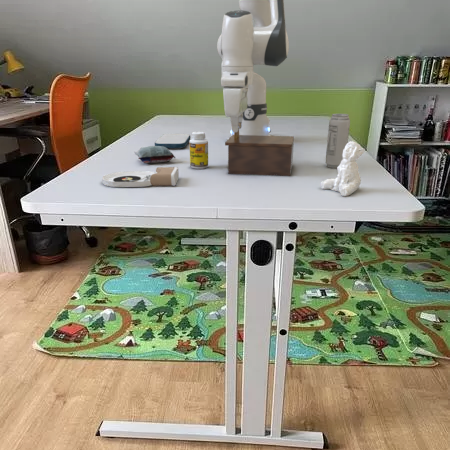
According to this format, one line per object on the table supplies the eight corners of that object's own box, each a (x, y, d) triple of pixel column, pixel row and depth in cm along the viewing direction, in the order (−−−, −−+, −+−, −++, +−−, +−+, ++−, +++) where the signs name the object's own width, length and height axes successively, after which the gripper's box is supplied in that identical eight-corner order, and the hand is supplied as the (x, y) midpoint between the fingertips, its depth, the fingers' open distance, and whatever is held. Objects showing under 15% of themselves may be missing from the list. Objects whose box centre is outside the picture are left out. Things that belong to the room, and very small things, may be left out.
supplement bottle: (187, 168, 138) (185, 133, 133) (194, 164, 143) (193, 130, 138) (204, 170, 136) (203, 134, 132) (211, 166, 141) (210, 131, 136)
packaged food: (135, 160, 149) (133, 144, 147) (170, 158, 152) (170, 142, 150) (139, 166, 142) (137, 149, 139) (176, 163, 145) (175, 147, 143)
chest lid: (225, 145, 128) (225, 126, 126) (232, 137, 141) (232, 120, 138) (291, 147, 126) (293, 128, 123) (293, 139, 138) (294, 121, 135)
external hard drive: (163, 138, 187) (163, 133, 186) (191, 138, 186) (191, 133, 185) (153, 149, 165) (152, 143, 165) (184, 149, 165) (184, 143, 164)
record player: (173, 175, 117) (96, 176, 117) (174, 187, 118) (97, 188, 119) (178, 165, 127) (107, 166, 128) (179, 176, 129) (109, 177, 129)
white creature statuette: (318, 188, 117) (322, 140, 112) (343, 183, 121) (348, 137, 116) (344, 197, 110) (350, 145, 104) (370, 192, 114) (377, 142, 108)
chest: (228, 173, 132) (228, 145, 128) (235, 163, 144) (235, 137, 140) (290, 176, 129) (291, 147, 126) (292, 165, 141) (293, 139, 138)
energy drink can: (347, 168, 138) (353, 115, 131) (328, 168, 137) (333, 116, 131) (341, 163, 143) (347, 113, 136) (322, 164, 143) (327, 113, 136)
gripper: (231, 76, 136) (231, 125, 142) (219, 79, 118) (220, 135, 124) (252, 76, 135) (251, 125, 141) (243, 79, 117) (242, 135, 123)
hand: (236, 130), depth 133 cm, fingers closed on chest lid, 5 cm apart
